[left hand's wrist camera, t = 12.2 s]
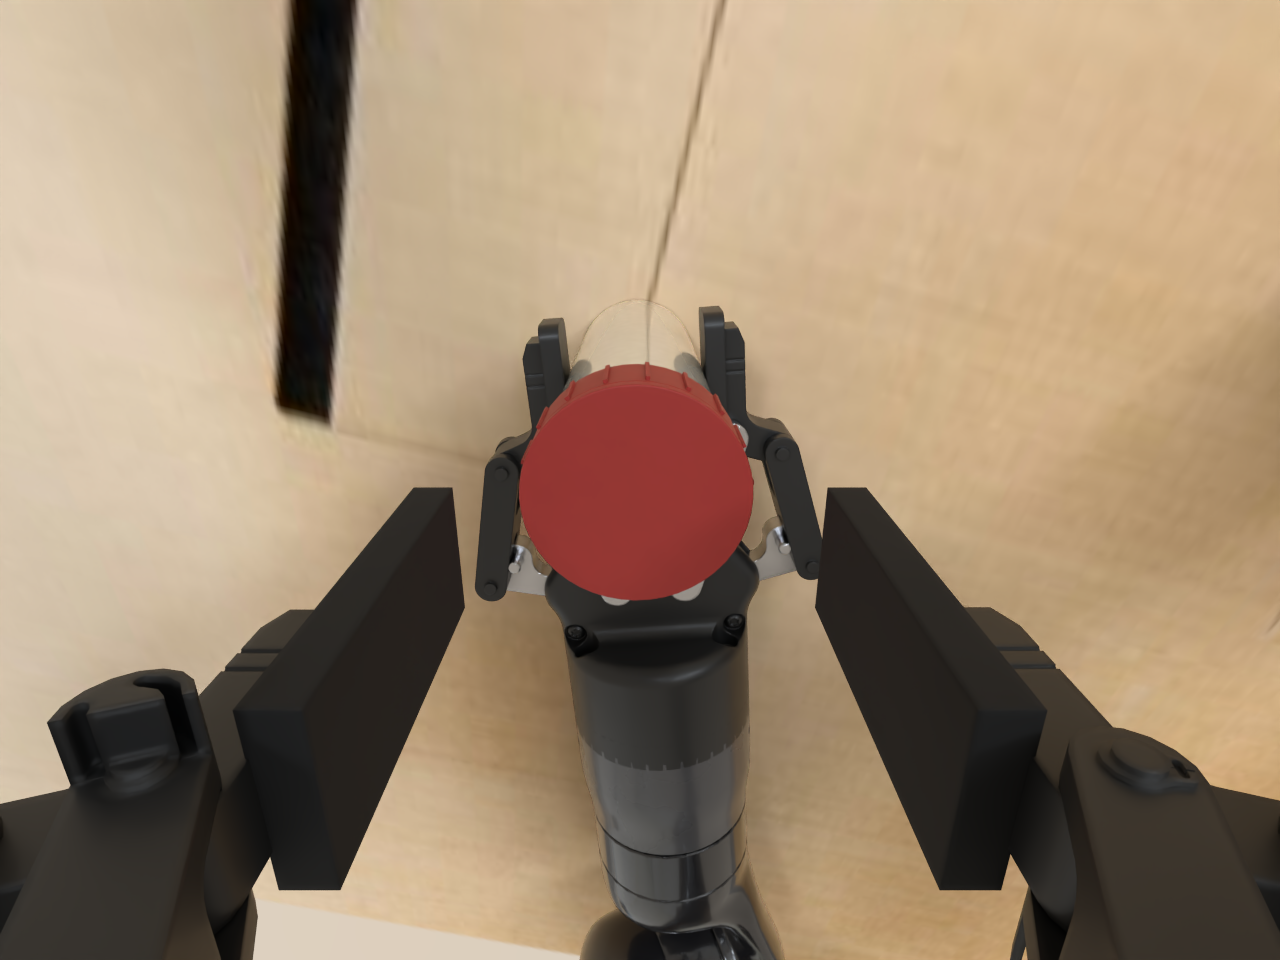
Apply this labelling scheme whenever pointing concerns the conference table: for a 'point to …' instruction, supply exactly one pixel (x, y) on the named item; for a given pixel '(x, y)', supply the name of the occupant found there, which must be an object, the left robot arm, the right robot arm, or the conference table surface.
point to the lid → (636, 483)
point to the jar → (637, 341)
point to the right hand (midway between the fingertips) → (630, 317)
